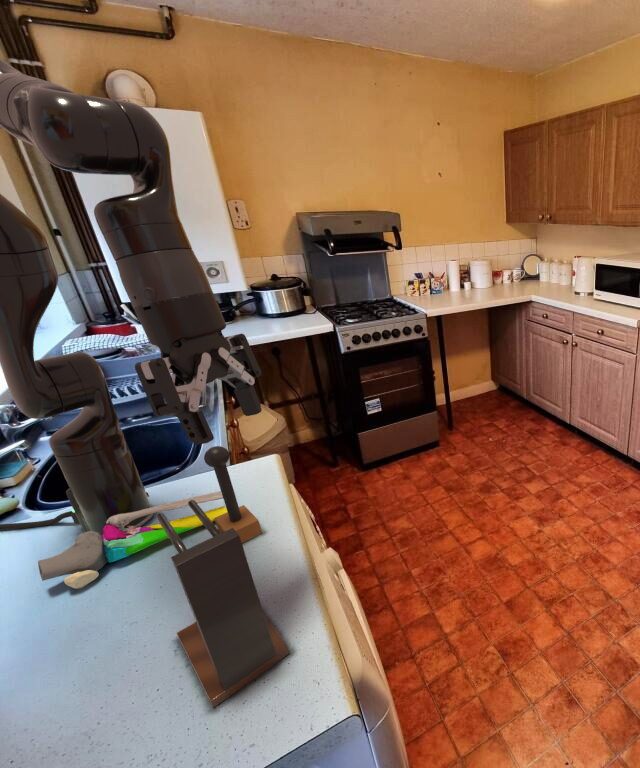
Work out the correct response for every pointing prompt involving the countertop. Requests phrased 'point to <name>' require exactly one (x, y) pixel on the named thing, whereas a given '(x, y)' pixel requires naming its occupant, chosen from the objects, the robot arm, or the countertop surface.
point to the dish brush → (231, 499)
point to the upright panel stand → (222, 612)
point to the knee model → (119, 542)
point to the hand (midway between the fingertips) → (230, 427)
